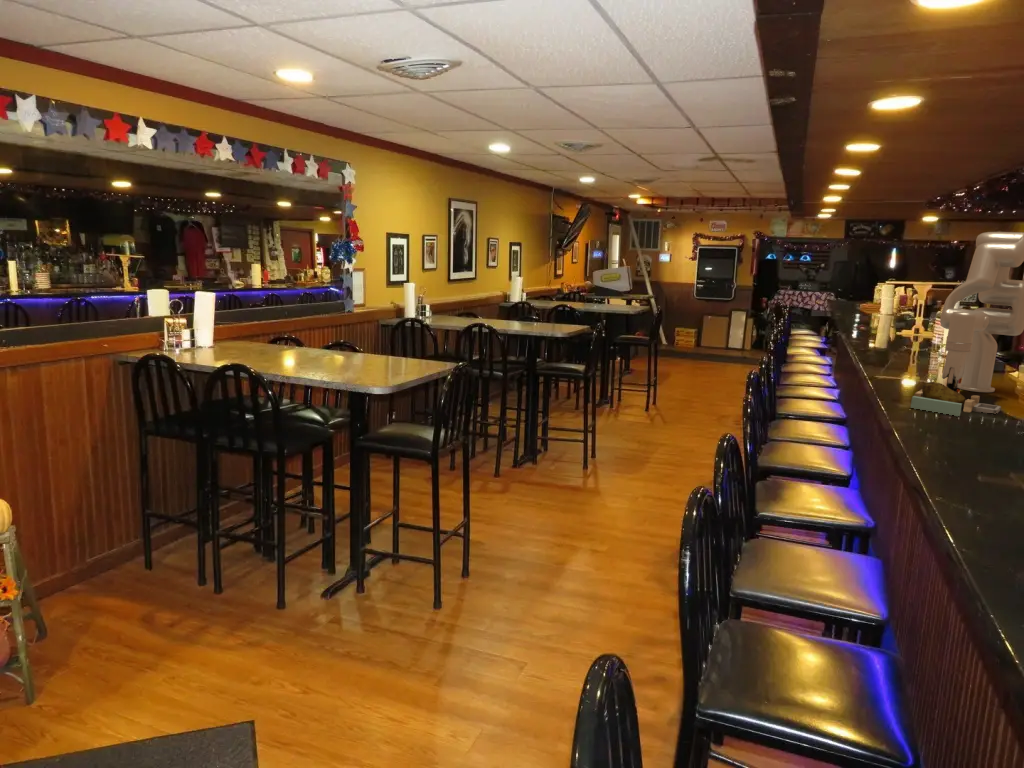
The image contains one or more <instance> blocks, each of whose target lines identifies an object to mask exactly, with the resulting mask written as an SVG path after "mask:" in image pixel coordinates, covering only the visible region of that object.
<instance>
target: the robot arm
mask: <svg viewBox="0 0 1024 768" xmlns="http://www.w3.org/2000/svg"><path fill="white" fill-rule="evenodd" d="M975 247H976V248H975V249H974V250H975V251H974V254H973V256H972V259H971V262H970V263H971V264H970V267H969V269H968V273H967V277H966V279H965V281H964V282H963V283H962V284H960V285H958V286H957V287H956V288H954V290H952V291H951V293H949V295H948V296H947V297H946V299H945V301H944V304H943V306H942V307H943V308H942V310H941V314H940V318H939V319H940V321H939V322H940V325H941V327H942V328H944V330H945V329H946V330H948V332H947V337H946V345H945V349H944V350H945V352H947V353H946V357H945V361H944V366H943V370H942V376H941V379H942V380H944V379H947V380H946V385H945V386H946V387H948V388H949V389H951V390H953V391H955V392H957V393H958V389H960V390H963V391H970V392H975V393H994V392H995V390H996V388H995V387H992V386H991V385H992V380H993V379H992V378H993V374H994V369H995V363H996V356H997V352H998V343H997V341H996V339H995V338H994V336H993V335H1004V336H1012V337H1013V336H1014V337H1016V336H1020V335H1021V334H1023V332H1024V280H1019V279H1017V280H1016V279H1010V278H1009V277H1010V270H1011V268H1018V267H1020V266H1021V265H1022V264H1023V263H1024V232H1020V231H1019V232H1018V231H1017V232H1016V231H1015V232H1014V231H987V232H986V231H985V232H982V233H979V234H978V235H977V237H976V239H975ZM975 294H978V295H977V296H978V300H979V302H981V303H983V304H987V305H995V306H1008V307H1011V309H1009V308H1008V309H1004V308H996V307H979V308H975V309H974V310H973V309H964V308H963V309H962V308H955V307H956V305H957V303H959V301H961V300H963V299H964V298H967V297H969V296H972V295H975ZM960 379H961V382H960V383H959V381H960Z"/></svg>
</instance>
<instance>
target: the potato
mask: <svg viewBox="0 0 1024 768" xmlns="http://www.w3.org/2000/svg"><path fill="white" fill-rule="evenodd" d="M946 386H947V385H945V384H943V383H940V382H935V381H930V382H927V383H925V384H924V385H922V386H921V390H922V392H923V396H924V397H925V398H929V399H936V400H942V401H948V402H955V403H961V404H962V406H961V407H964V404H965V401H966V400H967V399H966V397H965V396H964V395H962V393H960V392H958V391H957V392H955V391H953V390H951V389H949V388H948V387H946Z"/></svg>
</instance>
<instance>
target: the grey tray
mask: <svg viewBox="0 0 1024 768" xmlns="http://www.w3.org/2000/svg"><path fill="white" fill-rule="evenodd" d="M1001 409H1002V406H1001V405H994V404H989V403H982V402H979V403H978V404H977V405H975V406H974V407H973V411H972V412H975V413H981V412H983V413H982V414H987V413H994V414H996V413H997V414H999V412H1000V411H1001ZM997 414H996V415H997Z"/></svg>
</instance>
